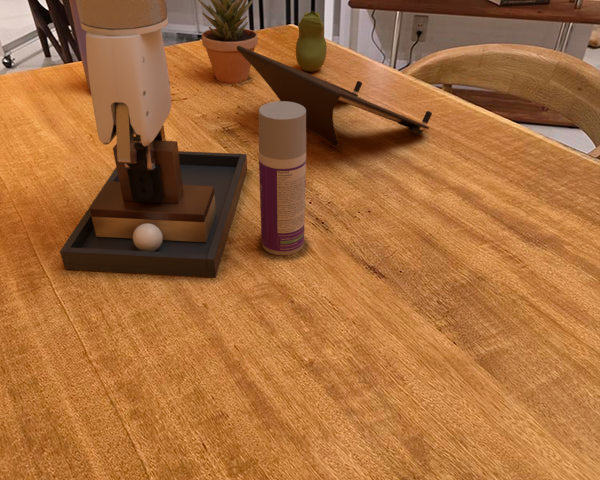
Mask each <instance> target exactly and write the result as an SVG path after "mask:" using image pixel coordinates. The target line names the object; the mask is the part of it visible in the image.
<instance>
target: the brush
mask: <svg viewBox="0 0 600 480" xmlns="http://www.w3.org/2000/svg"><path fill="white" fill-rule="evenodd" d="M152 143H153V150H154V157H155V166H159V169H160V175H161V182H162V189H163V196H164V199H163V201H162V202H161V203H148V202H135V201H133V199H132V194H131V189H130V184H129V178H128V173H127V169H126V168H125V164H124V163H118V160H117V142H116V143H115V145H114V146H113V148H112V151H113V156H114V162H115V168H116V167H117V172H118V178H119V182H110V181H108V182H107V181H106V182H107V183H106V182H105V183H106V185H105V184H104V185H105V186H104V185H103V186H104V188H103V187H102V188H103V189H102V188H101V189H102V191H101V190H100V191H101V192H100V191H99V192H100V194H99V193H98V194H99V195H98V194H97V195H98V197H97V196H96V197H97V198H96V197H95V198H96V200H95V199H94V200H95V202H94V203H93V202H92V203H93V205H92V206H91V205H90V206H91V208H90V212H91V216H92V221H93V225H94V229H95V233H96V237H112V238H131V239H133V233H134V231H135V229H136V228H137V227H138V226H140V225H142V224H146V223H149V224H153V225H155V226H157V227H158V228H159V229H160V231H161V233H162V236H163V240H170V241H190V242H207V239H208V236H209V233H210V230H211V227H212V224H213V221H214V218H215V215H216V205H215V195H214V187H213V186H194V185H182V176H181V168H180V160H179V152H178V151H179V145H178V144H179V143H178V141H176V140H166V141H160V140H153V141H152ZM134 148H135V150H142V151H143V152H144V154H145V150H144V147H135V146H134Z"/></svg>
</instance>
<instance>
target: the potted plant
mask: <svg viewBox="0 0 600 480" xmlns="http://www.w3.org/2000/svg"><path fill="white" fill-rule="evenodd" d="M197 1H198V2H199V3H200V4H201V5H202V7H203V8H204V9H205V10H206V11H207V12H208V13H209V14H210V15H211V16H212V17H213V18H214V19H213V18H211V17H210V16H209V15H207V14H206V13H204V12H203V11H202V15H203V17H204V18H205V19H206V20H207V21H208V22H209V23H210V24H211V25H212V26H213V27H214V28H212V27H211V26H208V29H207V30H205V31H204V32H202V34H201V41H202V42H201V43H202V46H203V47H204V48H205V51H206V53H207V56H208V59H209V62H210V64H211V68H212V72H213V73H214V76H215V79H216V80H217V81H219V82H221V83H227V84H238V83H239V84H240V83H241V82H245V81H247V80H248V79H249V78H250V71H251V67H252V65H251V64H250V63H249V62H248V61H247V60H246V59H245V58H244V56H243V55H242V54H241V53H240V52H239V51H238V50H237V46H241V47H243V48H246V49H248V50H251V51H253V52H255V48H256V47H257V46H258V44H259V34H258V33H257V32H256V31H255V30H252V29H248V28H246V27H247V26H248V23H249V22H248V21H246V19H247V18H248V15H245V13H246V12H247V11H248V10H249V8H250V7H251V5H252V4H253V2H254V0H250V1H248V0H210V2H211V4H212V5H213V7H212V6H211V4H208V5H207V4H206V3H204V2H203V1H202V0H197ZM247 1H248V3H247ZM244 15H245V16H244ZM245 21H246V22H245ZM244 22H245V23H244ZM243 23H244V24H243ZM241 25H242V26H241Z"/></svg>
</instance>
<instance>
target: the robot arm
mask: <svg viewBox="0 0 600 480" xmlns="http://www.w3.org/2000/svg"><path fill="white" fill-rule="evenodd" d="M76 3H77V8H78V13H79V18H80V23H81V28H82V29H83V30H85V31H87V33H86V53H87V65H88V74H89V82H90V89H91V90H90V89H89V90H90V94H91V101H92V108H93V114H94V120H95V125H96V131H97V136H98V139H99V141H100V142H101V144H102V145H109V144H110V143H112V141H113V140H114V139H115V137H116V143H117V160H118V163H124V164H125V168H126V169H127V173H128V178H129V184H130V189H131V194H132V199H133V201H135V202H148V203H161V202H162V201H163V199H164V196H163V189H162V182H161V175H160V169H159V166H155V157H154V150H153V143H152V141H153V140H160V141H167V140H166V134H165V133H166V132H165V125H164V124H166V123H165V122H166V121H167V120H168V117H169V115H170V114H171V110H172V92H171V82H170V81H171V80H170V75H169V68H168V67H169V66H168V60H167V55H166V49H165V44H164V43H165V42H164V36H163V32H162V29H164V28H166V27H168V25H169V17H168V16H169V15H168V10H167V9H168V7H167V1H166V0H76ZM134 146H135V147H144V150H145V154H144V152H143V151H142V150H135V148H134Z"/></svg>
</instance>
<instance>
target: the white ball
mask: <svg viewBox="0 0 600 480" xmlns="http://www.w3.org/2000/svg"><path fill="white" fill-rule="evenodd" d="M162 240H163V236H162V233H161V231H160V229H159V228H158V227H157V226H155V225H153V224H149V223H146V224H142V225H140V226H138V227H137V228H136V229H135V231H134V233H133V242H134V244H135V246H136V247H137V248H138V249H139V250H141V251H148V252H153V251H156V250H157V249H158V248H159V247H160V246H161V244H162Z"/></svg>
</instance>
